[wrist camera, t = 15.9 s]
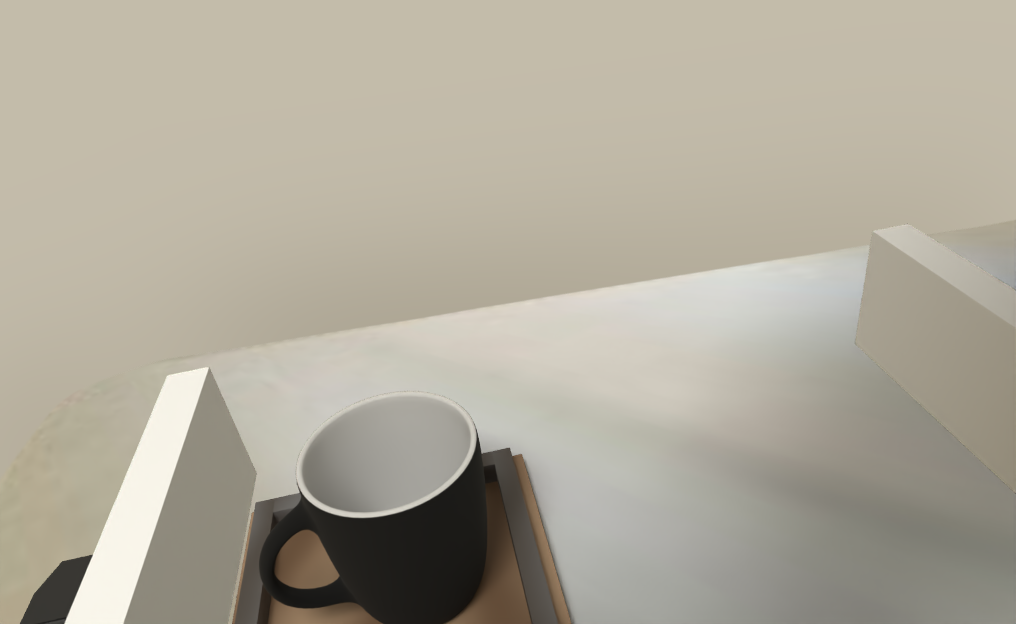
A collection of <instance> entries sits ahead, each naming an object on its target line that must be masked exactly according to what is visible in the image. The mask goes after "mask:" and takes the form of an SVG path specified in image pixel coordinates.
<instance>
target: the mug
mask: <svg viewBox="0 0 1016 624" xmlns="http://www.w3.org/2000/svg"><path fill="white" fill-rule="evenodd" d="M296 480H297V485H298V488H299V491H300V494H301V499H300V501H299V503H298V504H297V506H296V507H295V508H294V509H292V510H291V511H290V512H289V513H288V514H287V515H286V516H285V517H284V518H283V519H282V520H281V521H280V522H279V523H278V524H277V525H276V526H275V527H274V528H273V529H272V531H271V532H270V533H269V535H268V536H267V538H266V540H265V542H264V544H263V547H262V550H261V553H260V558H259V572H260V577H261V580H262V583H263V585H264V587H265V589H266V590H267V592H268V593H269V594H270V595H271V596H272V597H273V598H274V599H275V600H277V601H278V602H280V603H282V604H284V605H287V606H290V607H294V608H303V609H313V608H321V607H326V606H331V605H335V604H340V603H347V602H352V603H356V604H358V605H360V606H361V607H362V608H363V609H364V610H365V611H366V612H367V613H369V614H370V615H371V616H372V617H373V618H375V619H376V620H378V621H379V622H381V623H383V624H444V623H446V622H448V621H449V620H451V619H453V618H454V617H455V616H457V615H458V614H459V613H460V612H461V611H462V610H463V609H464V608H465V607H466V606H467V605H468V604H469V603H470V601H471V600H472V598H473V597H474V595H475V593H476V591H477V589H478V587H479V585H480V583H481V580H482V577H483V573H484V568H485V562H486V553H487V502H486V488H485V477H484V469H483V461H482V454H481V448H480V442H479V438H478V433H477V430H476V427H475V424H474V422H473V420H472V418H471V416H470V415H469V414H468V412H467V411H466V410H465V409H464V408H463V407H461V406H460V405H459V404H457V403H456V402H454V401H452V400H450V399H448V398H446V397H443V396H440V395H437V394H433V393H428V392H420V391H401V392H392V393H386V394H381V395H377V396H374V397H370V398H367V399H364V400H362V401H359V402H357V403H354V404H352V405H350V406H348V407H346V408H344V409H342V410H341V411H339V412H337V413H336V414H334V415H333V416H331V417H330V418H329V419H327V420H326V421H325V422H324V423H323V424H321V425H320V426H319V427H318V428H317V429H316V430H315V431H314V432H313V434H312V435H311V436H310V437H309V439H308V440H307V441H306V443H305V444H304V446H303V448H302V450H301V452H300V454H299V457H298V460H297V465H296ZM302 530H310V531H312V532H314V533H315V534H317V535H318V537H319V539H320V541H321V543H322V545H323V547H324V549H325V550H326V552H327V554H328V556H329V558H330V560H331V562H332V563H333V565H334V567H335V569H336V570H337V572H338V574H339V577H338V579H337V580H335V581H334V582H332V583H331V584H328V585H326V586H323V587H318V588H310V589H300V588H294V587H291V586H288V585H286V584H284V583H283V582H281V581H280V580H279V579H278V578H277V577H276V575H275V573H274V565H275V561H276V558H277V555H278V553H279V552H280V550H281V548H282V547H283V546H284V544H285V543H286V542H287V541H288V540H289V539H290V538H291V537H292V536H294V535H295V534H296V533H298V532H300V531H302Z"/></svg>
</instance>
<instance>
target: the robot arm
mask: <svg viewBox="0 0 1016 624" xmlns="http://www.w3.org/2000/svg"><path fill="white" fill-rule="evenodd" d="M855 344H856V345H857V346H858V347H859V348H860V349H861V350H862V351H863V352H864V353H865V354H866V355H868V356H869V357H870V358H871V359H872V360H873V361H874V362H875V363H876V364H877V365H878V366H879V367H880V368H881V369H883V370H884V371H885V372H886V373H887V374H888V375H889V376H890V377H891V378H892V379H893V380H894V381H895V382H896V383H898V384H899V385H900V386H901V387H902V388H903V389H904V390H905V391H906V392H907V393H908V394H909V395H910V396H911V397H913V398H914V399H915V400H916V401H917V402H918V403H919V404H920V405H921V406H922V407H923V408H924V409H925V410H926V411H928V412H929V413H930V414H931V415H932V416H933V417H934V418H935V419H936V420H937V421H938V422H939V423H940V424H942V425H943V426H944V427H945V428H946V429H947V430H948V431H949V432H950V433H951V434H952V435H953V436H954V437H955V438H957V439H958V440H959V441H960V442H961V443H962V444H963V445H964V446H965V447H966V448H967V449H968V450H969V451H970V452H972V453H973V454H974V455H975V456H976V457H977V458H978V459H979V460H980V461H981V462H982V463H983V464H984V465H985V466H987V467H988V468H989V469H990V470H991V471H992V472H993V473H994V474H995V475H996V476H997V477H998V478H999V479H1000V480H1002V481H1003V482H1004V483H1005V484H1006V485H1007V486H1008V487H1009V488H1010V489H1011V490H1012V491H1013V492H1014V493H1015V494H1016V290H1015V289H1013V288H1012V287H1010V286H1008V285H1007V284H1005V283H1004V282H1002V281H1000V280H999V279H997V278H995V277H994V276H992V275H991V274H989V273H987V272H986V271H984V270H983V269H981V268H979V267H978V266H976V265H974V264H973V263H971V262H970V261H968V260H966V259H965V258H963V257H961V256H960V255H958V254H957V253H955V252H953V251H952V250H950V249H949V248H947V247H945V246H944V245H942V244H940V243H939V242H937V241H936V240H934V239H932V238H931V237H929V236H927V235H926V234H924V233H922V232H921V231H919V230H918V229H916V228H914V227H913V226H911V225H910V224H904V225H900V226H895V227H890V228H885V229H880V230H875V231H872V237H871V244H870V250H869V256H868V263H867V269H866V276H865V282H864V288H863V295H862V301H861V308H860V314H859V321H858V327H857V333H856V340H855ZM256 475H257V473H256V471H255V468H254V466H253V464H252V462H251V459H250V457H249V455H248V453H247V450H246V448H245V446H244V444H243V442H242V439H241V437H240V435H239V433H238V430H237V428H236V426H235V424H234V421H233V419H232V417H231V415H230V412H229V410H228V408H227V406H226V404H225V401H224V399H223V397H222V395H221V392H220V390H219V388H218V386H217V383H216V381H215V379H214V377H213V374H212V372H211V370H210V368H209V367H206V368H201V369H196V370H192V371H187V372H182V373H177V374H172V375H167V378H166V380H165V382H164V385H163V387H162V390H161V392H160V395H159V397H158V399H157V402H156V404H155V407H154V409H153V411H152V414H151V416H150V419H149V421H148V423H147V426H146V428H145V431H144V433H143V436H142V438H141V440H140V443H139V445H138V448H137V450H136V452H135V455H134V457H133V460H132V462H131V464H130V467H129V469H128V472H127V474H126V477H125V479H124V481H123V484H122V486H121V489H120V491H119V493H118V496H117V498H116V501H115V503H114V505H113V508H112V510H111V513H110V515H109V518H108V520H107V522H106V525H105V527H104V530H103V532H102V534H101V537H100V539H99V542H98V544H97V546H96V549H95V551H94V554H93V555H89V556H85V557H80V558H76V559H71V560H67V561H62V562H61V563H60V565H59V566H58V567H57V568H56V569H55V570H54V572H53V573H52V574H51V575H50V576H49V577H48V578H47V580H46V581H45V582H44V583H43V584H42V585H41V587H40V588H39V589H38V590H37V591H36V592H35V593H34V595H33V597H32V599H31V601H30V604H29V606H28V608H27V610H26V612H25V614H24V616H23V618H22V620H21V623H20V624H228V621H229V616H230V610H231V605H232V600H233V595H234V589H235V584H236V579H237V574H238V569H239V563H240V558H241V553H242V548H243V543H244V537H245V532H246V527H247V522H248V516H249V511H250V506H251V501H252V496H253V490H254V485H255V480H256Z"/></svg>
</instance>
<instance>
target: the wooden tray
mask: <svg viewBox="0 0 1016 624" xmlns="http://www.w3.org/2000/svg"><path fill="white" fill-rule="evenodd" d="M482 461H483V469H484V477H485V488H486V502H487V553H486V562H485V568H484V573H483V577H482V580H481V583H480V585H479V587H478V589H477V591H476V593H475V595H474V597H473V598H472V600H471V601H470V603H469V604H468V605H467V606H466V607H465V608H464V609H463V610H462V611H461V612H460V613H459V614H458V615H457V616H455V617H454V618H453V619H451V620H449V621H448V622H446V623H444V624H571V620H570V617H569V614H568V610H567V607H566V603H565V600H564V597H563V593H562V590H561V586H560V583H559V579H558V576H557V573H556V569H555V566H554V562H553V559H552V556H551V552H550V549H549V545H548V542H547V539H546V535H545V532H544V528H543V525H542V521H541V518H540V515H539V511H538V508H537V504H536V501H535V498H534V494H533V491H532V487H531V484H530V480H529V477H528V474H527V470H526V467H525V463H524V460H523V457H522V454H520V455H515V456H512V454H511V451H510V448H506V449H501V450H497V451H492V452H488V453H483V454H482ZM300 499H301V494H300V493H298V494H293V495H288V496H284V497H279V498H275V499H270V500H265V501H261V502H256V504H255V510H254V512H253V513H252V515H251V521H250V526H249V532H248V538H247V543H246V549H245V554H244V560H243V566H242V571H241V577H240V582H239V588H238V594H237V599H236V605H235V610H234V616H233V622H232V624H383V623H381V622H379V621H378V620H376V619H375V618H373V617H372V616H371V615H370V614H369V613H367V612H366V611H365V610H364V609H363V608H362V607H361V606H360V605H358V604H356V603H352V602H347V603H340V604H335V605H331V606H326V607H321V608H313V609H303V608H294V607H290V606H287V605H284V604H282V603H280V602H278V601H277V600H275V599H274V598H273V597H272V596H271V595H270V594H269V593H268V592H267V590H266V589H265V587H264V585H263V583H262V580H261V577H260V572H259V558H260V553H261V550H262V547H263V544H264V542H265V540H266V538H267V536H268V535H269V533H270V532H271V531H272V529H273V528H274V527H275V526H276V525H277V524H278V523H279V522H280V521H281V520H282V519H283V518H284V517H285V516H286V515H287V514H288V513H289V512H290V511H291V510H292V509H294V508H295V507H296V506H297V504H298V503H299V501H300ZM274 573H275V575H276V577H277V578H278V579H279V580H280V581H281V582H283V583H284V584H286V585H288V586H291V587H294V588H300V589H310V588H318V587H323V586H326V585H328V584H331V583H332V582H334V581H335V580H337V579H338V577H339V574H338V572H337V570H336V569H335V567H334V565H333V563H332V562H331V560H330V558H329V556H328V554H327V552H326V550H325V549H324V547H323V545H322V543H321V541H320V539H319V537H318V535H317V534H315V533H314V532H312V531H310V530H302V531H300V532H298V533H296V534H295V535H294V536H292V537H291V538H290V539H289V540H288V541H287V542H286V543H285V544H284V546H283V547H282V548H281V550H280V552H279V553H278V555H277V558H276V561H275V565H274Z"/></svg>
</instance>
